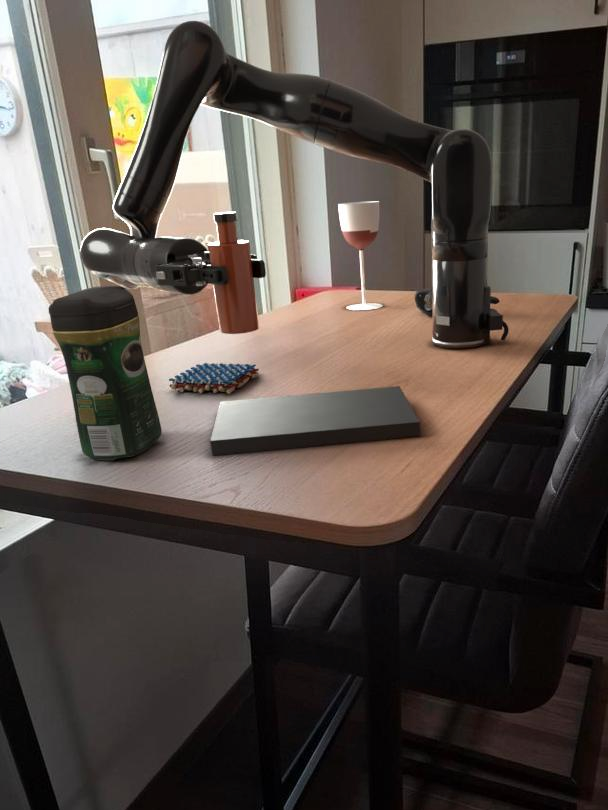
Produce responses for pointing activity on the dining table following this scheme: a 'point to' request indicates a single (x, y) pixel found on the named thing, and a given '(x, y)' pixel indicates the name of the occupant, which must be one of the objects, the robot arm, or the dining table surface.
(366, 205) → the wineglass
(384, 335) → the dining table surface
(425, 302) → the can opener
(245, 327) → the oil bottle
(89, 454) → the coffee jar
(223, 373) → the woven mat
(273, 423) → the cutting board
